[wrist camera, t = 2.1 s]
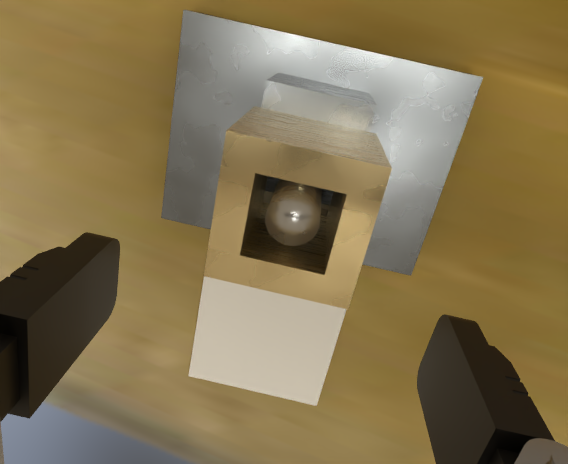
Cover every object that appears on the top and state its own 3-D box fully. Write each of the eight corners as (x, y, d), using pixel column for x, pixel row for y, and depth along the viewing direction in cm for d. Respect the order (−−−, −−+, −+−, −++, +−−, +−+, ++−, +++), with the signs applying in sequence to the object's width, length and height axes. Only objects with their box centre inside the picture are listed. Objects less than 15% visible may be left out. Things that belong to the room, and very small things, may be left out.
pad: (350, 289, 32) (350, 295, 31) (316, 398, 36) (316, 405, 35) (209, 256, 32) (206, 261, 31) (191, 368, 36) (188, 375, 35)
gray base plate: (472, 74, 26) (585, 103, 14) (406, 261, 30) (450, 395, 19) (194, 11, 26) (83, -10, 14) (171, 207, 31) (75, 308, 19)
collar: (376, 133, 21) (392, 168, 15) (344, 244, 23) (347, 309, 17) (254, 105, 21) (226, 130, 15) (234, 218, 23) (203, 276, 17)
